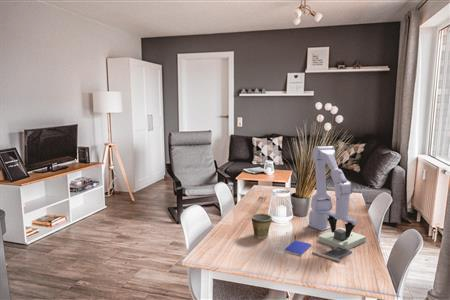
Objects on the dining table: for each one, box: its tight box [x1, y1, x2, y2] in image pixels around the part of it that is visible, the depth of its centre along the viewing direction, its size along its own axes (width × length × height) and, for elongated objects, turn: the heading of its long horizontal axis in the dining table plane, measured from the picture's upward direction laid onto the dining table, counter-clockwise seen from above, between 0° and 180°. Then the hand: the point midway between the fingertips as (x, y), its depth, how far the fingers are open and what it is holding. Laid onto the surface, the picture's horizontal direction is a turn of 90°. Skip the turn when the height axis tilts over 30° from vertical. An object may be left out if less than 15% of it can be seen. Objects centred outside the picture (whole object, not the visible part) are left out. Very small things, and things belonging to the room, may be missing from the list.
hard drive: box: [283, 239, 312, 257], centre depth 147 cm, size 2×8×12 cm
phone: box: [324, 247, 352, 260], centre depth 142 cm, size 6×11×1 cm, turn 126°
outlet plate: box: [317, 227, 367, 250], centre depth 156 cm, size 14×18×3 cm
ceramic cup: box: [251, 213, 273, 240], centre depth 161 cm, size 13×10×10 cm
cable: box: [311, 251, 341, 263], centre depth 139 cm, size 12×1×1 cm, turn 51°
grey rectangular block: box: [334, 228, 346, 242], centre depth 153 cm, size 4×4×6 cm
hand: (340, 234), depth 153 cm, fingers open, 7 cm apart
